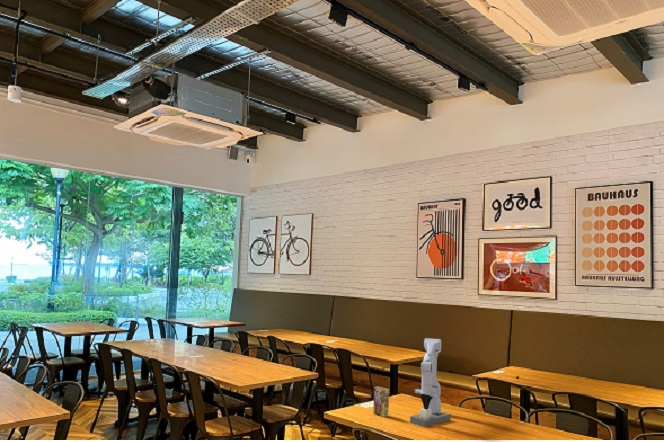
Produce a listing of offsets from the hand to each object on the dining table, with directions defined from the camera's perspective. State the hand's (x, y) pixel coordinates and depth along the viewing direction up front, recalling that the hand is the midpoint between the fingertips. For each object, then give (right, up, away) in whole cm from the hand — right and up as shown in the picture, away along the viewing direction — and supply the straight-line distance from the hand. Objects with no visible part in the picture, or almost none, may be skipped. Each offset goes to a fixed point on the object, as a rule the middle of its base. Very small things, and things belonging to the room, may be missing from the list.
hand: (426, 408), depth 287 cm
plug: (0, -7, -1) cm, 7 cm away
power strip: (+3, -9, +3) cm, 10 cm away
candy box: (-24, -8, +12) cm, 28 cm away
